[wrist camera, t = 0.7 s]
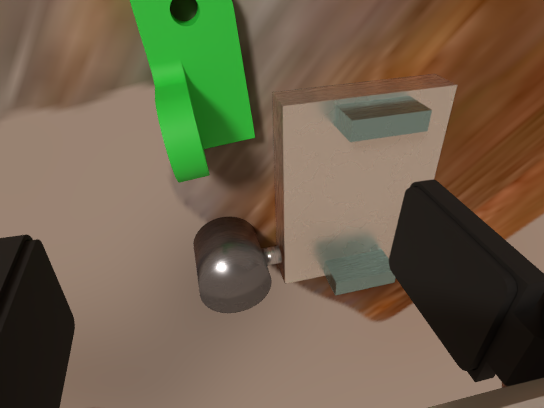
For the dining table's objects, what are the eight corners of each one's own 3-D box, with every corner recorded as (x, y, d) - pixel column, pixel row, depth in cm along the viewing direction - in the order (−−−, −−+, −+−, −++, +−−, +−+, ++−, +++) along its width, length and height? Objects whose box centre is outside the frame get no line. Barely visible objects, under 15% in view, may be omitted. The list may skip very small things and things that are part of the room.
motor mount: (434, 73, 32) (483, 98, 28) (399, 238, 43) (430, 277, 38) (166, 104, 28) (169, 138, 24) (199, 278, 39) (206, 326, 34)
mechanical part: (250, 127, 31) (274, 176, 25) (176, 143, 31) (181, 198, 24) (219, -49, 24) (243, -43, 18) (122, -33, 24) (111, -21, 17)
